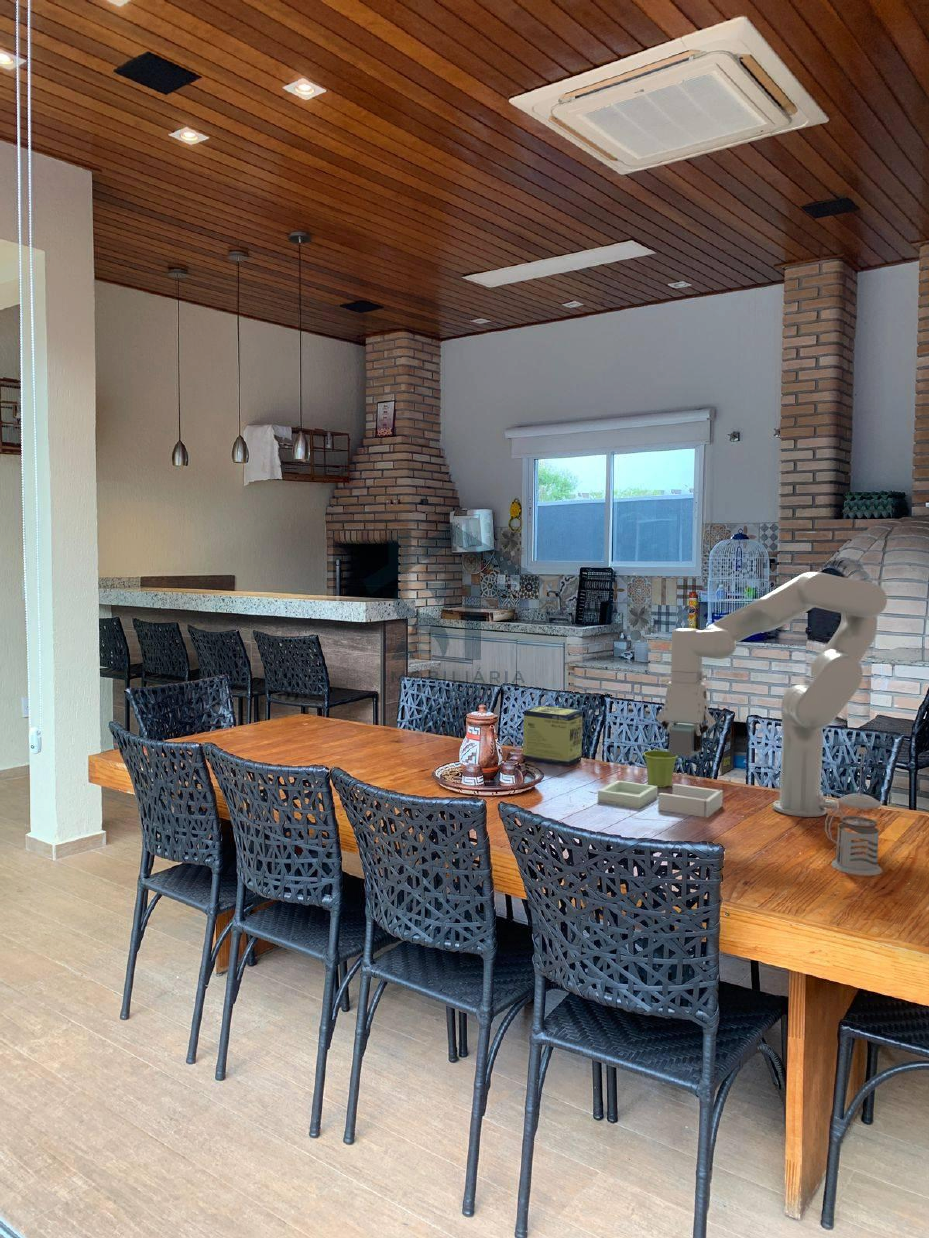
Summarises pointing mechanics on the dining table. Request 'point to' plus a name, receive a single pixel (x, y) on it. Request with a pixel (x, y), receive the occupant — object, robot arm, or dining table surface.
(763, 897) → the dining table surface
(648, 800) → the tray
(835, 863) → the french press
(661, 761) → the plant pot
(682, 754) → the grey cube with lid
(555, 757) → the protein box
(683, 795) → the bay
